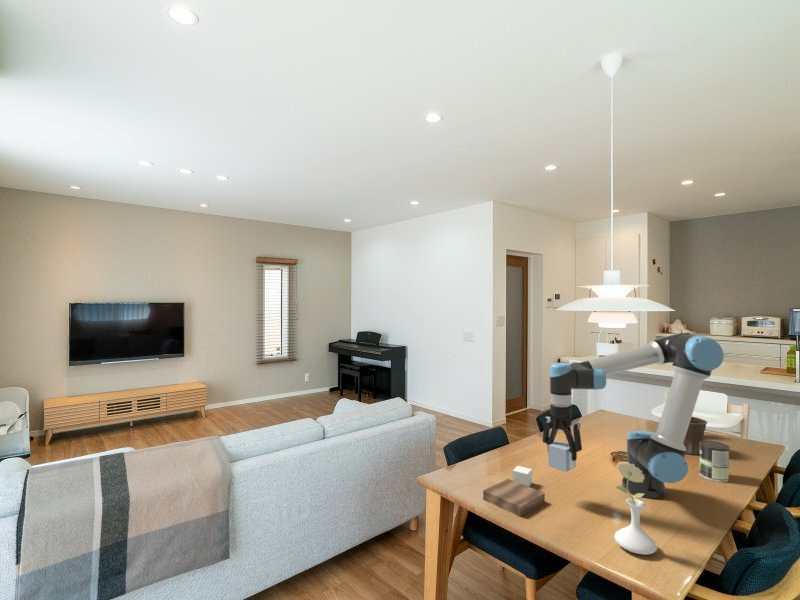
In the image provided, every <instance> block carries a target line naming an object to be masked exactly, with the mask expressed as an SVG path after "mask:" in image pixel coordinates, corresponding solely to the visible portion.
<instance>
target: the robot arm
mask: <svg viewBox="0 0 800 600" xmlns="http://www.w3.org/2000/svg"><path fill="white" fill-rule="evenodd" d="M724 354H725V353H724V350H723V348H722V346H721V344H720V343H719V342H718V341H716V340H715V339H713V338H711V337H708V336H705V335H699V334H698V335H697V334H690V333H684V332H683V333H675V334H671V335H668V336H665V337H661V338H658V339H654V340H653V339H652V340H651V341H650V342H648V344H646V345H642V346H637V347H635V348H630V349H626V350H623V351H619V352H615V353H612V354H608V355H603V356H600V357H597V358H592V359H589V360H586V361H581V362H576V361H574V362H570V363H566V362H554V363H551V365H549V367H550V368H549V386H550V387H549V389H550V393H549V395H550V397H549V402H550V405H549V406H550V409H549V410H550V416H548V415H547V416H545V417H543V431H542V443H544V444H546V445H547V446H548V445H550V444H552V443H554V441H555V439H556V437H557V435H558V431H559V430H560V431H563V433H564V435H565V438H566V441H567V444H569V446H570V449H571V451H569V469H570V470H569V471H571V470H573V469H575V468H576V467H575V460H576V461H577V459H578V456H577V455H578V453H577V452H581V451H582V450H583V447H582V437H581V431H580V429H581V423H580V422H575V421H574V420H573V418H572V417H573V416H572V415H573V410H572V409H573V407H572V404H573V403H572V402H573V401H572V399H573V398H572V394H573V393H572V390H595V391H596V390H603V389H605V388H606V386H607V376H610V375H615V374H618V373H622V372H626V371H630V370H633V369H638V368H642V367H646V366H649V365H653V364H658V365H664V364H670V363H671V367H672V368H673V370H674V375H673V378H672V381H671V385H670V387H669V391H668V394H667V397H666V399H665V404H664V407H663V411H662V413H661V417H660V419H659V422H658V423H659V424H658V426H657V429H656V432H654V431H648V430H647V431H646V430H631V431H628V432H627V437H626V462H629V463H630V464H634V465H635V467H636V468H639V469H640V470H641V471H642V474H643V475H644V477H645V479H644V480H643V482H639V483H638V482H633V481H630V480H629V481H628V490H629V492H630V494H631V495H635V494H638V493H642V494H644V493H645V494H644V495H643V496H642V498H647V499H662V498H665V497H666V495H667V488H666V485H665V483H666V484H676V483H678V482H681V481H682V480H683V479H684V478H685V477H686V475H687V474H688V472H689V466H688V465H689V464H688V463H687V460H686V458H685V457H686V454H685V453H686V450H687V449H686V448H685V446H684V444H683V442H684V439H685V436H686V433H687V429H688V426H689V423H690V420H691V417H693V414H694V410H695V407H696V404H697V400H698V398H699V395H700V391H701V388H702V385H703V382H704V380H707V379H709V378H710V377H711V376H712V375H711V374H712V372H713V371H714V370H716V369H717V368H719V367H720V366H721V365H722V364H723V361H724V356H725V355H724ZM551 424H552V427H551ZM571 427H572V428H571ZM550 428H551V429H550ZM572 429H573V431H572ZM622 476H623V475H622ZM627 480H628V478H625V477H624V476H623V477H622V479H621V485H622V486H623V487H625V488H626V489H627Z"/></svg>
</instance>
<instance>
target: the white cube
mask: <svg viewBox="0 0 800 600" xmlns="http://www.w3.org/2000/svg"><path fill="white" fill-rule="evenodd" d="M512 480H513V481H515V482H518V483H520V484H523V485H525V486H528V487H531V485H532V483H533V469H532V468H528V467H524V466H521V465H516V467H515V468H514V469H513V470H512Z"/></svg>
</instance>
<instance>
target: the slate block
mask: <svg viewBox="0 0 800 600" xmlns="http://www.w3.org/2000/svg"><path fill="white" fill-rule="evenodd" d="M569 451H571V449H570V446H569V444H568V442H567V443H566V442H565V441H564V442H563V441H560V440H556V441H555V442H553V443H552V444H550V445H547V454H548V455H547V456H548V467H549V468H552V469H556V470H559V471H561V472H565V473H567V472H568V471H571V470H570V469H569ZM576 461H577V459H576V460H575V468H576V465H577V464H576Z"/></svg>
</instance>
